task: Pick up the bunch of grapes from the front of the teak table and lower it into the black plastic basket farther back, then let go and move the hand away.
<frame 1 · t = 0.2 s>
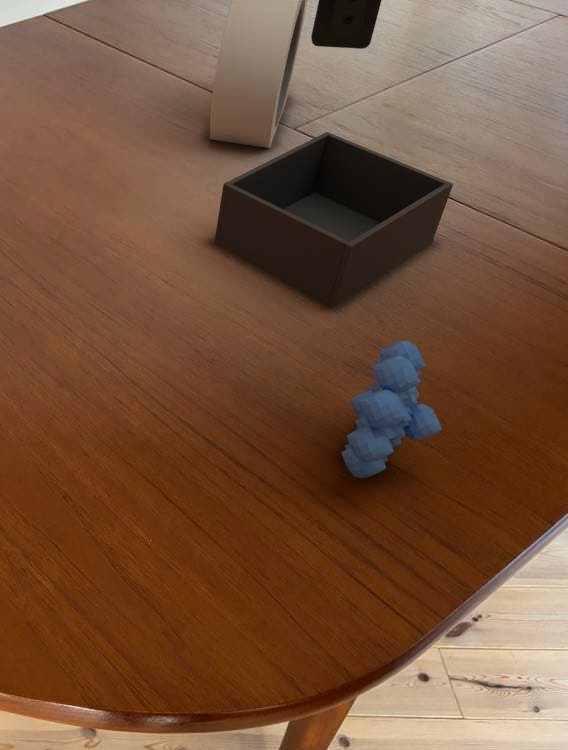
hand: (332, 14, 52), 32 cm above the table, tool pointing down, fingers open, 9 cm apart
alarm clock: (248, 124, 113), on the table
basket: (321, 246, 91), on the table
grapes: (373, 469, 69), on the table
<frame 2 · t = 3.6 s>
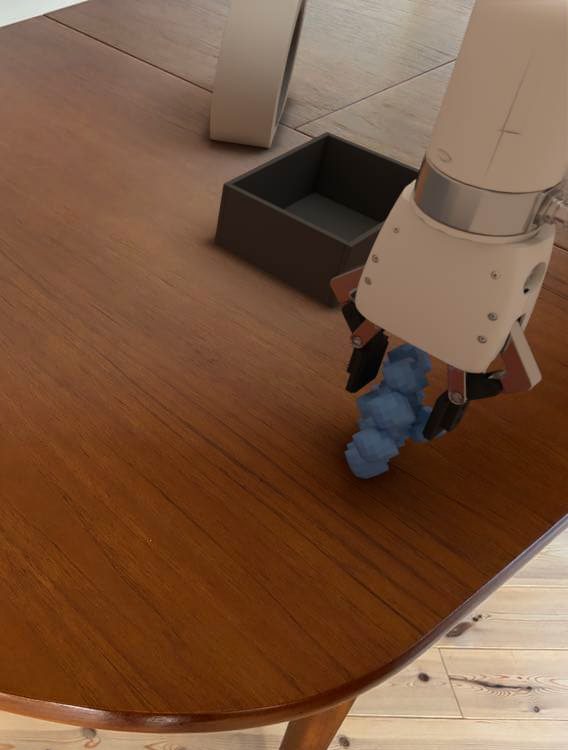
hand: (398, 404, 64), 7 cm above the table, tool pointing down, fingers closed on grapes, 5 cm apart
grapes: (373, 469, 69), on the table, touching gripper
everything else where it was.
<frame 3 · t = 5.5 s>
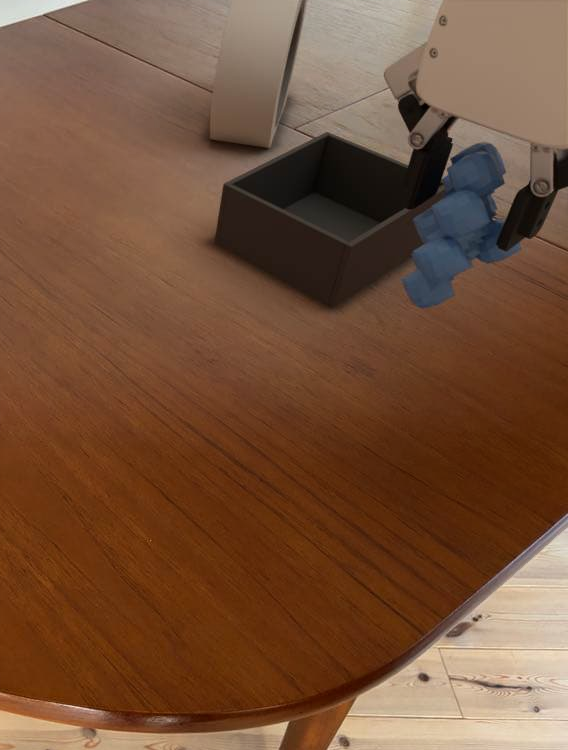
hand: (464, 218, 55), 22 cm above the table, tool pointing down, fingers closed on grapes, 5 cm apart
grapes: (432, 308, 60), point 15 cm above the table, touching gripper
everything else where it was.
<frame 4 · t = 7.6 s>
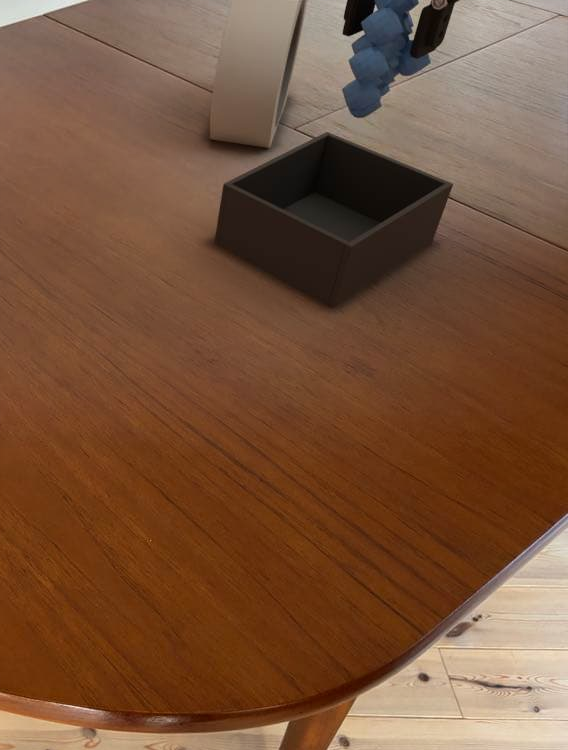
hand: (388, 40, 73), 23 cm above the table, tool pointing down, fingers closed on grapes, 5 cm apart
grapes: (368, 121, 78), point 16 cm above the table, touching gripper
everything else where it was.
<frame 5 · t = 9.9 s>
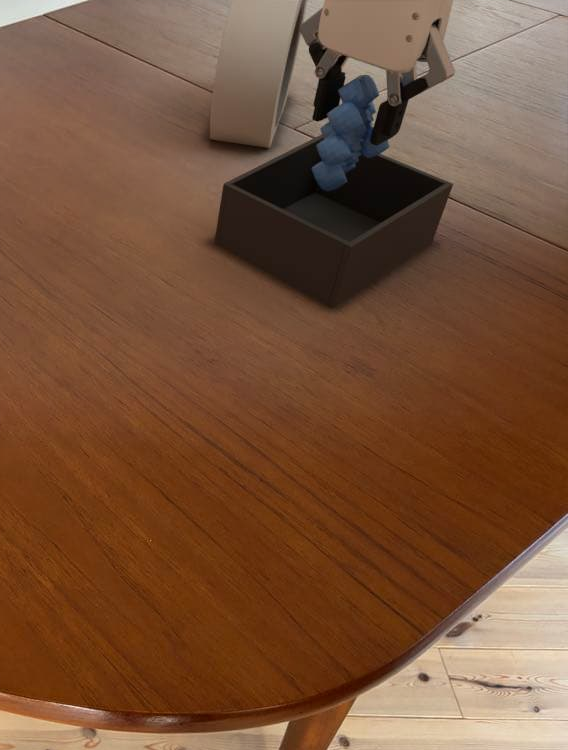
hand: (352, 126, 82), 14 cm above the table, tool pointing down, fingers closed on grapes, 5 cm apart
grapes: (335, 193, 87), point 6 cm above the table, touching gripper
everything else where it was.
when the fingers open (8 cm above the table, at t = 11.9 s): grapes stays where it is, resting on basket.
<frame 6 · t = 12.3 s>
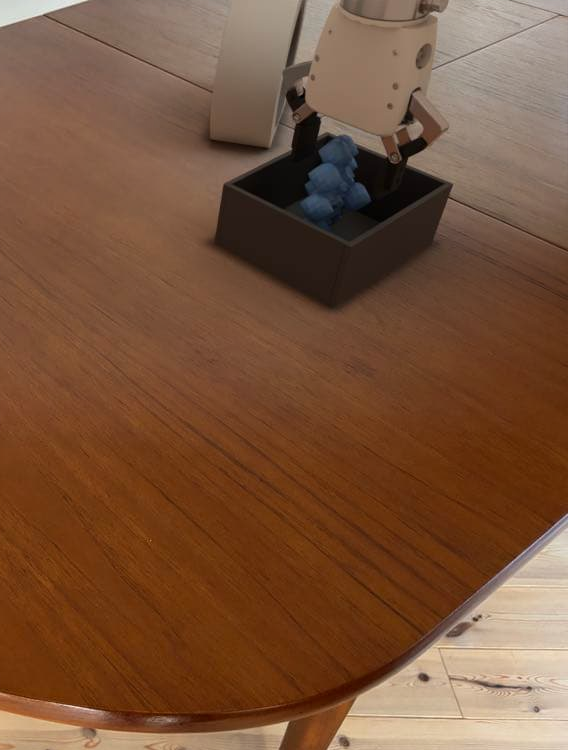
hand: (341, 175, 86), 8 cm above the table, tool pointing down, fingers open, 9 cm apart
grapes: (323, 244, 91), resting on basket
everything else where it was.
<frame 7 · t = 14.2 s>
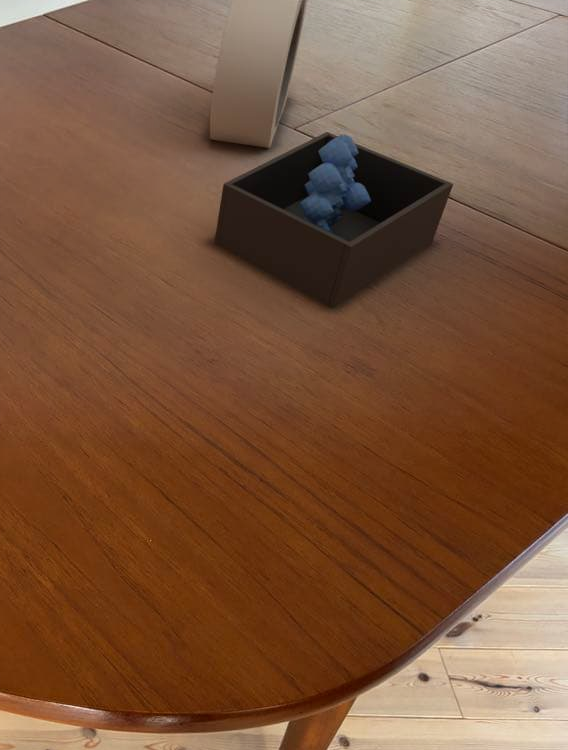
nothing on the table moved.
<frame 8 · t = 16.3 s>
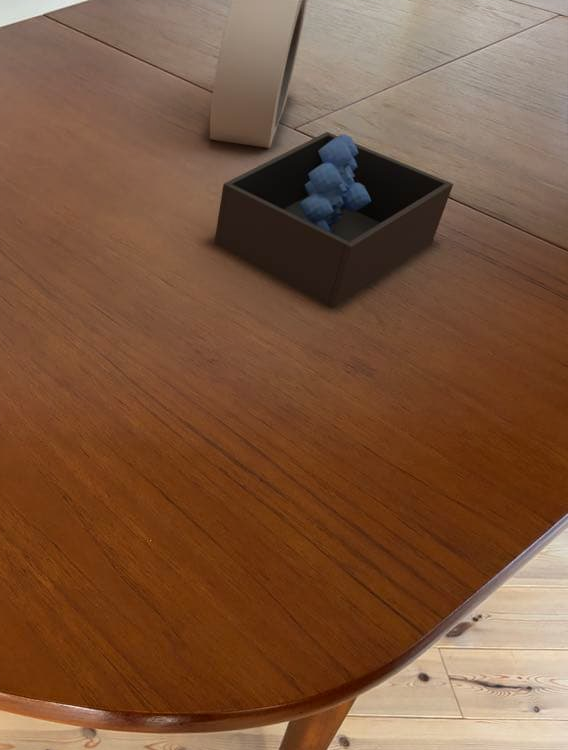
nothing on the table moved.
at the end: grapes inside the target area in the basket (0.1 cm from its centre), point 0.3 cm above the basket's base; the gripper is holding nothing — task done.
